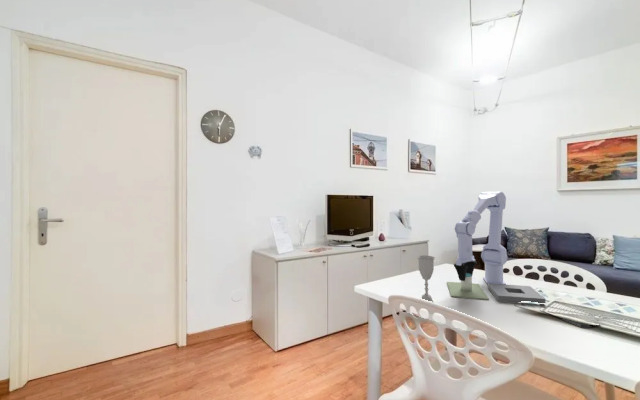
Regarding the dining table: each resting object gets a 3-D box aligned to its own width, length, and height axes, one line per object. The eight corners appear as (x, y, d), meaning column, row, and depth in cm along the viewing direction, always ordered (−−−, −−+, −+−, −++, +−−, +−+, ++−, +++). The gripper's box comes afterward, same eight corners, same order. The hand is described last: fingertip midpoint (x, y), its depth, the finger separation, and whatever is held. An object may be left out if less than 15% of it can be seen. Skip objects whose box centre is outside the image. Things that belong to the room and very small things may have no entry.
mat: (446, 282, 141) (446, 281, 141) (478, 285, 136) (478, 283, 136) (451, 297, 122) (451, 295, 122) (488, 300, 118) (488, 298, 118)
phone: (555, 305, 108) (601, 323, 93) (555, 308, 108) (601, 326, 93) (538, 307, 107) (582, 325, 92) (538, 310, 107) (582, 329, 92)
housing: (488, 288, 131) (488, 283, 131) (530, 291, 126) (530, 286, 126) (497, 301, 116) (497, 295, 116) (545, 305, 110) (545, 299, 110)
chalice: (437, 304, 114) (436, 259, 114) (419, 303, 116) (418, 259, 115) (433, 297, 122) (432, 255, 121) (417, 297, 123) (416, 255, 123)
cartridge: (459, 289, 129) (459, 274, 129) (463, 287, 132) (462, 272, 132) (469, 291, 126) (469, 276, 126) (473, 289, 129) (473, 273, 129)
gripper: (467, 252, 121) (468, 284, 121) (480, 247, 131) (481, 276, 131) (451, 249, 126) (451, 280, 127) (464, 245, 136) (465, 273, 136)
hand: (465, 278), depth 129 cm, fingers open, 7 cm apart
